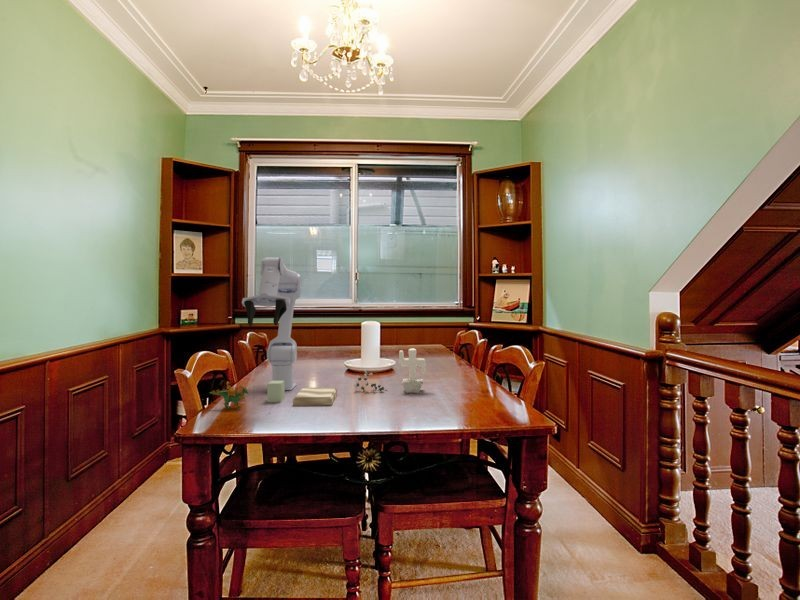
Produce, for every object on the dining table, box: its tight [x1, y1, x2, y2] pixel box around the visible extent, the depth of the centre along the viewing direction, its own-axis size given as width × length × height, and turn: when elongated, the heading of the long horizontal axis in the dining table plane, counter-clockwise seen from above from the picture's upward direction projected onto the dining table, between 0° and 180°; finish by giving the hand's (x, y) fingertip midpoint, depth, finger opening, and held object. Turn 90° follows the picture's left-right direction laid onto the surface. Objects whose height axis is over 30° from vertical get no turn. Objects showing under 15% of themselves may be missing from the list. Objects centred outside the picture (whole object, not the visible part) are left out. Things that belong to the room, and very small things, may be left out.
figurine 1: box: [209, 381, 249, 410], centre depth 138 cm, size 3×12×8 cm, turn 90°
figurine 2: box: [398, 347, 427, 394], centre depth 159 cm, size 7×9×15 cm
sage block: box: [266, 380, 286, 403], centre depth 148 cm, size 4×4×6 cm
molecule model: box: [353, 369, 388, 394], centre depth 160 cm, size 6×12×8 cm, turn 89°
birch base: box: [292, 386, 338, 407], centre depth 148 cm, size 14×12×2 cm
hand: (262, 324), depth 137 cm, fingers open, 7 cm apart
